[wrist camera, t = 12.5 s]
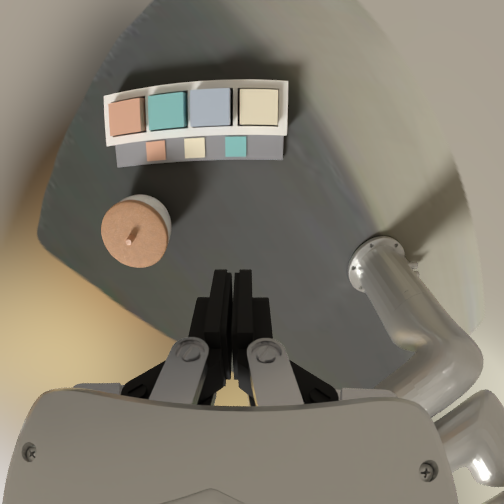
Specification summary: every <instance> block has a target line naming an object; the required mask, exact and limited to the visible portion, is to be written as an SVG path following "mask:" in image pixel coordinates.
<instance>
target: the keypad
mask: <svg viewBox="0 0 504 504" xmlns="http://www.w3.org/2000/svg"><path fill="white" fill-rule="evenodd" d="M215 88H230V90H233V125H219V126H198V127H191V125H190V90H198V89H215ZM240 89H272V90H278V122H277V125H238V90H240ZM177 92H185V93H188V127H181V128H170V129H160V130H159V129H157V130H149V119H148V96H153V95H161V94H168V93H177ZM135 98H145V109H146V131H143V132H136V133H129V134H121V135H115V136H110V127H109V107H108V104H110V103H114V102H119V101H124V100H129V99H135ZM104 115H105V131H106V143H107V146H112V145H115V147H116V157H117V166H118V167H127V166H135V165H145V164H156V163H168V162H183V161H202V160H283V138H284V136H287V116H288V81H281V80H254V79H236V80H208V81H194V82H183V83H174V84H166V85H159V86H152V87H146V88H140V89H134V90H129V91H124V92H119V93H115V94H110V95H106V96H104Z"/></svg>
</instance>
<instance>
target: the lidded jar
mask: <svg viewBox="0 0 504 504" xmlns="http://www.w3.org/2000/svg"><path fill="white" fill-rule="evenodd" d="M101 233H102V238H103V241H104V244H105V246H106V248H107V249H108V251H109V252H110V253H111V255H112V256H113V257H114V258H116V259H117V260H118V261H120V262H121V263H123V264H125V265H128V266H131V267H138V268H142V267H148V266H151V265H153V264H155V263H156V262H158V261H159V260H160V259H161V258H162V256H163V255H164V253H165V251H166V248H167V245H168V242H169V239H170V235H171V219H170V216H169V213H168V211H167V209H166V208H165V206H164V205H163V204H162V203H161V202H160V201H159V200H157V199H156V198H154V197H151V196H148V195H142V194H137V195H132V196H129V197H127V198H124V199H123V200H121V201H120V202H118V203H117V204H115V205H114V206H112V207H111V208H110V209H109V210H108V211H107V213H106V214H105V216H104V218H103V221H102V226H101Z"/></svg>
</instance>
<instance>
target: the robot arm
mask: <svg viewBox="0 0 504 504" xmlns="http://www.w3.org/2000/svg"><path fill="white" fill-rule="evenodd" d="M417 267H418V263H417V262H408V260H407V259H406V258H405V253H404V249H403V247H402V246H401V244H400V243H399V242H398V241H397V240H396V239H394V238H392V237H388V236H379V237H375V238H372V239H370V240H368V241H366V242H365V243H363V244H362V245H361V246H360V247H359V248H358V249H357V250H356V251H355V252H354V254H353V255H352V257H351V259H350V262H349V265H348V277H349V280H350V282H351V283H352V285H353V286H354V287H355V288H356V289H357V290H359V291H361V292H365V293H366V294H367V296H368V298H369V299H370V301H371V303H372V305H373V307H374V308H375V310H376V312H377V314H378V316H379V318H380V319H381V321H382V323H383V325H384V327H385V329H386V331H387V333H388V334H389V336H390V338H391V340H392V341H393V342H394V343H395V344H396V345H397V346H398V347H400V348H402V349H404V350H408V351H412V352H416V353H415V354H414V355H413V356H412V357H411V358H410V359H409V360H408V361H407V362H406V363H405V364H403V365H402V366H401V367H400V368H398V369H397V370H396V371H395V372H393V373H392V374H391V375H389V376H388V377H387V378H386V379H384V380H383V381H381V382H380V383H379V384H378V385H377V386H376V387H374V389H355V388H342V390H335V389H334V388H333V387H332V386H331V385H329V384H327V383H326V382H324V381H322V380H321V379H319V378H317V377H316V376H314V375H313V374H311V373H309V372H308V371H306V370H305V369H303V368H301V367H300V366H298V365H297V364H295V363H293V362H292V361H290V360H289V358H288V355H287V352H286V349H285V348H284V346H283V344H281V343H280V342H279V341H277V340H275V339H273V336H272V326H271V316H270V307H269V298H252V271H251V270H240V273H235V280H234V295H233V297H232V274H231V273H227V270H215V271H214V276H213V282H212V287H211V292H210V297H198V298H197V301H196V305H195V310H194V314H193V318H192V323H191V327H190V332H189V336H188V337H186V338H183V339H180V340H178V341H177V342H176V343H175V344H174V345H173V347H172V348H171V351H170V353H169V355H168V357H167V359H166V361H164V362H162V363H160V364H159V365H157V366H155V367H153V368H152V369H150V370H148V371H147V372H145V373H143V374H141V375H139V376H138V377H136V378H134V379H132V380H130V381H129V382H128V383H126V384H125V385H121V384H120V383H90V384H89V383H82V384H77V385H75V386H74V387H73V388H58V389H53V390H49V391H46V392H44V393H43V394H41V395H40V396H39V397H38V399H37V400H36V401H35V402H34V404H33V406H32V407H31V409H30V411H29V413H28V415H27V417H26V419H25V421H24V424H23V426H22V429H21V431H20V434H19V436H18V439H17V442H16V445H15V449H14V452H13V455H12V459H11V462H10V466H9V470H8V474H7V479H6V484H5V490H4V496H3V503H2V504H458V499H457V493H456V488H455V484H454V480H453V476H452V472H454V471H456V470H458V469H459V468H462V467H467V468H468V469H469V470H470V472H471V474H472V476H473V478H474V479H475V480H476V482H478V483H480V484H483V485H487V486H491V487H504V407H503V406H502V404H501V402H500V401H499V399H498V398H497V397H496V396H495V394H493V393H492V392H491V391H489V390H481V391H479V392H477V393H475V394H473V395H472V396H471V397H469V398H468V399H467V400H465V401H464V402H462V403H461V404H460V405H458V406H457V407H456V408H454V409H453V410H452V411H450V412H449V413H447V414H446V415H445V416H443V417H442V418H440V419H439V420H437V421H436V422H433V421H432V419H431V418H432V417H433V416H435V415H436V414H437V413H439V412H441V411H442V410H444V409H445V408H446V407H448V406H449V405H451V404H452V403H453V402H454V401H455V400H457V399H458V398H459V397H461V396H462V395H463V394H464V393H465V392H467V391H468V390H469V389H470V388H471V387H472V385H473V384H474V383H475V382H476V380H477V379H478V378H479V376H480V374H481V371H482V368H483V356H482V353H481V350H480V349H479V347H478V345H477V344H476V343H475V342H474V340H473V339H472V338H471V337H470V336H469V335H468V334H467V333H466V332H465V331H464V330H463V329H462V328H461V327H460V326H459V325H458V324H457V323H456V322H455V321H454V320H453V319H452V318H451V317H450V315H449V314H448V313H447V312H446V311H445V309H444V308H443V307H442V306H441V304H440V303H439V302H438V301H437V299H436V298H435V297H434V295H433V294H432V293H431V292H430V290H429V289H428V288H427V287H426V285H425V284H424V283H423V282H422V280H421V279H420V278H419V272H418V271H413V270H412V269H416V268H417ZM232 354H233V368H234V379H235V380H238V381H239V388H240V389H242V390H243V391H244V392H246V393H247V398H248V403H249V406H248V407H246V406H243V407H241V406H214V403H215V399H216V392H217V391H218V390H220V389H221V388H223V386H225V384H226V379H231V360H232ZM483 504H504V491H502V492H501V493H499V494H498V495H496V496H494V497H493V498H491V499H489V500H488V501H486V502H484V503H483Z"/></svg>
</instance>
